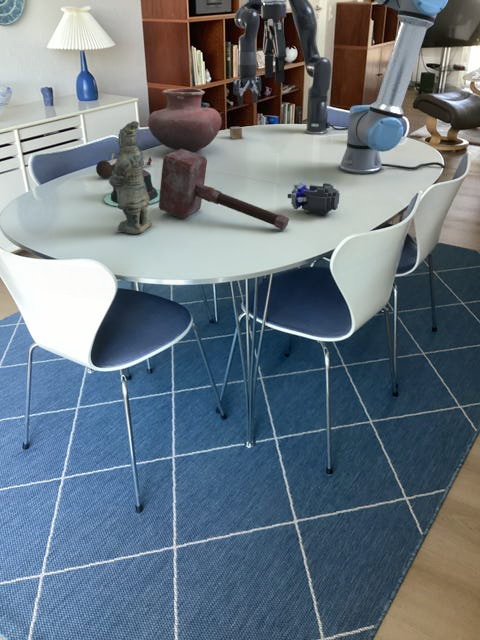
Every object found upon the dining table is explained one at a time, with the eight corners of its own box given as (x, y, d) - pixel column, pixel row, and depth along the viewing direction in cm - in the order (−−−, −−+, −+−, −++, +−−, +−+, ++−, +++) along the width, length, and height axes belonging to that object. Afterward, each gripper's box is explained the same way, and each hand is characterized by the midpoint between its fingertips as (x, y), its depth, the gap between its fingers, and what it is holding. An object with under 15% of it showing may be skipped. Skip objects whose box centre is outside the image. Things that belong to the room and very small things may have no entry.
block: (239, 136, 265) (239, 126, 262) (242, 138, 261) (241, 128, 259) (229, 137, 263) (229, 127, 261) (232, 139, 260) (232, 129, 257)
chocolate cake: (91, 202, 180) (113, 186, 197) (142, 231, 182) (160, 212, 199) (107, 162, 172) (129, 148, 190) (160, 192, 174) (177, 176, 192)
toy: (295, 178, 172) (342, 184, 166) (295, 205, 177) (340, 211, 171) (285, 186, 166) (333, 192, 160) (284, 213, 170) (331, 220, 164)
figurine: (158, 154, 218) (111, 160, 199) (158, 173, 221) (112, 181, 202) (133, 150, 225) (86, 155, 206) (134, 169, 228) (87, 176, 209)
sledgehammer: (299, 190, 156) (179, 147, 167) (285, 200, 148) (161, 154, 160) (286, 244, 166) (174, 200, 177) (272, 256, 158) (156, 209, 170)
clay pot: (228, 143, 251) (226, 84, 239) (213, 161, 226) (210, 95, 213) (163, 142, 256) (158, 84, 243) (142, 159, 231) (135, 95, 218)
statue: (131, 220, 168) (117, 116, 152) (158, 224, 164) (147, 118, 149) (109, 233, 159) (93, 124, 144) (138, 237, 156) (124, 126, 140)
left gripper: (253, 61, 239) (253, 101, 247) (228, 63, 231) (229, 105, 239) (265, 62, 234) (265, 103, 243) (240, 65, 226) (241, 107, 234)
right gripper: (252, 3, 176) (254, 76, 187) (271, 4, 155) (272, 86, 166) (275, 2, 177) (275, 74, 188) (297, 3, 156) (296, 84, 167)
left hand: (247, 104), depth 241 cm, fingers open, 8 cm apart
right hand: (274, 80), depth 177 cm, fingers open, 13 cm apart
